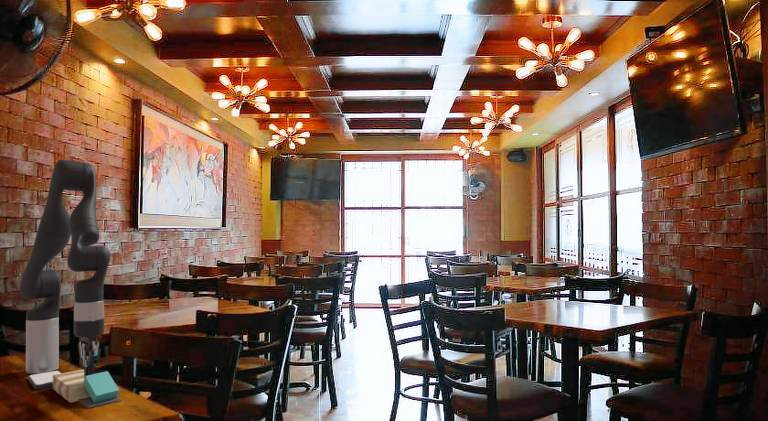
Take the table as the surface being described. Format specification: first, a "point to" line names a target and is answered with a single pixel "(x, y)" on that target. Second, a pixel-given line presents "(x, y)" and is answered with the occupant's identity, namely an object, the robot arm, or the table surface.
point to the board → (70, 385)
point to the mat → (90, 403)
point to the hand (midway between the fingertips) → (89, 379)
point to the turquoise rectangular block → (101, 386)
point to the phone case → (42, 379)
